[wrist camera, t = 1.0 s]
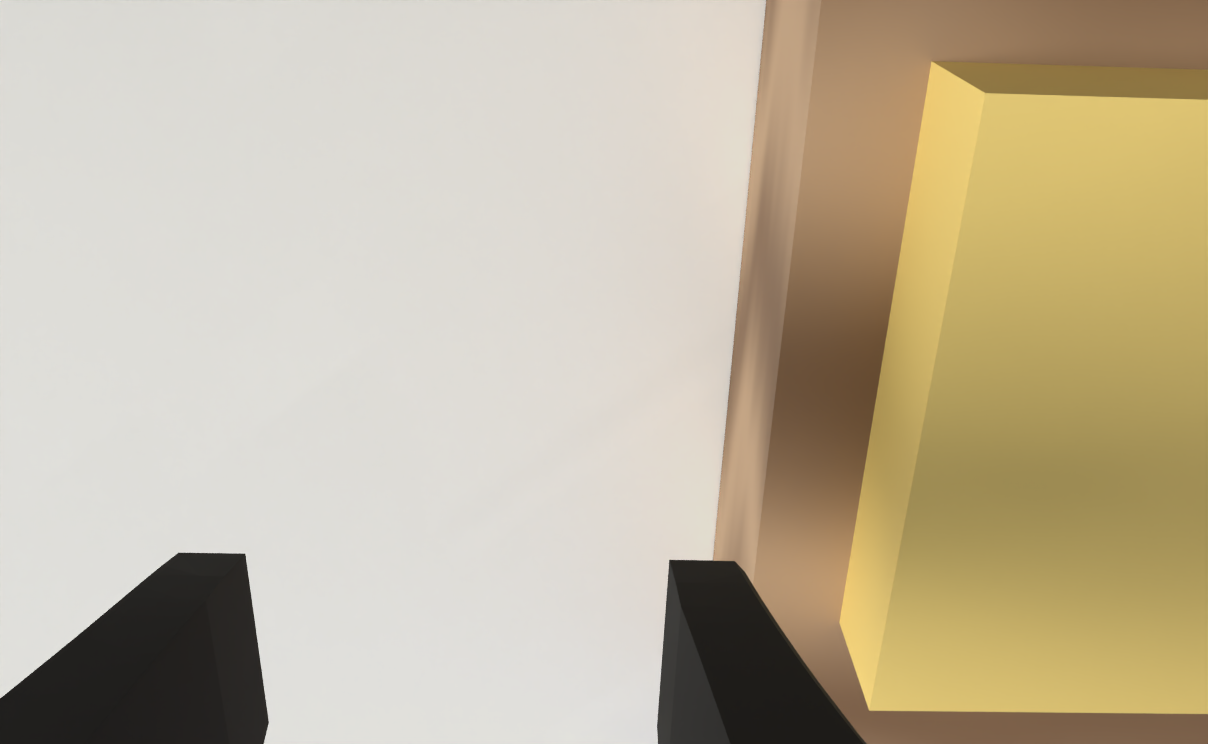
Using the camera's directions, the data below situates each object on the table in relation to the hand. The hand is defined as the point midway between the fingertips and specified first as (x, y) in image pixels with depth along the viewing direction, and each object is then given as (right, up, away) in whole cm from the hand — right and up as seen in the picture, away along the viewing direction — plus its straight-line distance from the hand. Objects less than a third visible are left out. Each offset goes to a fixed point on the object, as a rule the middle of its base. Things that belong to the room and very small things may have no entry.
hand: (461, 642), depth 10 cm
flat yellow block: (+8, +2, +6) cm, 10 cm away
